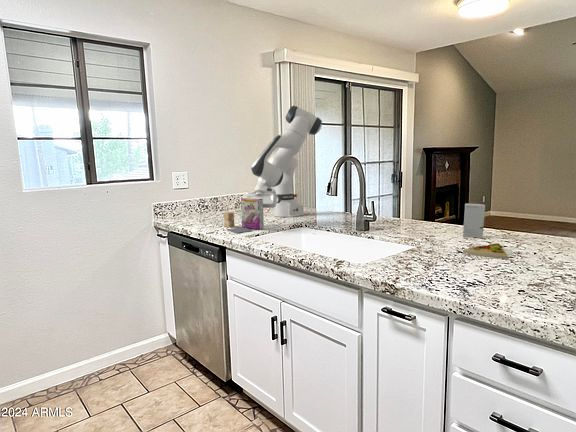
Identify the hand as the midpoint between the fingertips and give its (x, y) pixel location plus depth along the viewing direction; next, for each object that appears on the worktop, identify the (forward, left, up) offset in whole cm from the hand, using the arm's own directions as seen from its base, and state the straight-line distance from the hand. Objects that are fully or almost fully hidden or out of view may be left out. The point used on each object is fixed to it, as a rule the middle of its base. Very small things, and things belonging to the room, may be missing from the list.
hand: (255, 212), depth 209 cm
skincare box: (-62, +88, -9) cm, 108 cm away
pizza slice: (-42, +106, -9) cm, 115 cm away
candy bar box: (+2, +1, -8) cm, 8 cm away
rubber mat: (+10, +1, -8) cm, 13 cm away
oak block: (+9, -13, -8) cm, 18 cm away
